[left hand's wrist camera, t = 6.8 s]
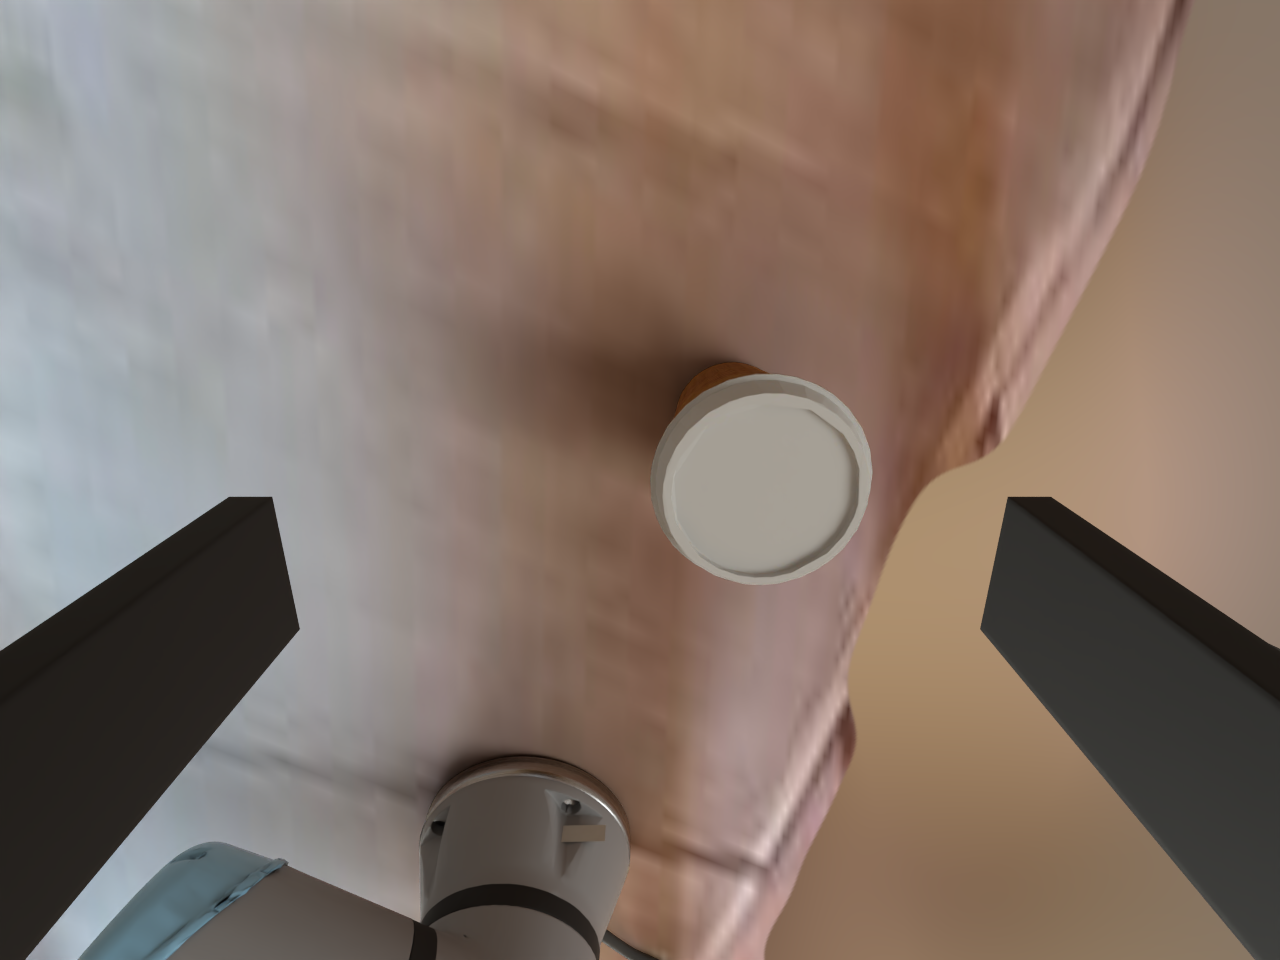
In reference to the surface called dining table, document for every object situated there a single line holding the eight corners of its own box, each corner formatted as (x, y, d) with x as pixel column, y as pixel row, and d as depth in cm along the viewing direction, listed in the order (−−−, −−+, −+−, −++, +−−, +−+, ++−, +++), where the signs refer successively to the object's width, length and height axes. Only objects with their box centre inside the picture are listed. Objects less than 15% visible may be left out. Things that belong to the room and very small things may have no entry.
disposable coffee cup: (846, 398, 39) (930, 469, 28) (741, 520, 42) (779, 631, 30) (716, 297, 37) (749, 331, 26) (614, 433, 40) (605, 517, 28)
